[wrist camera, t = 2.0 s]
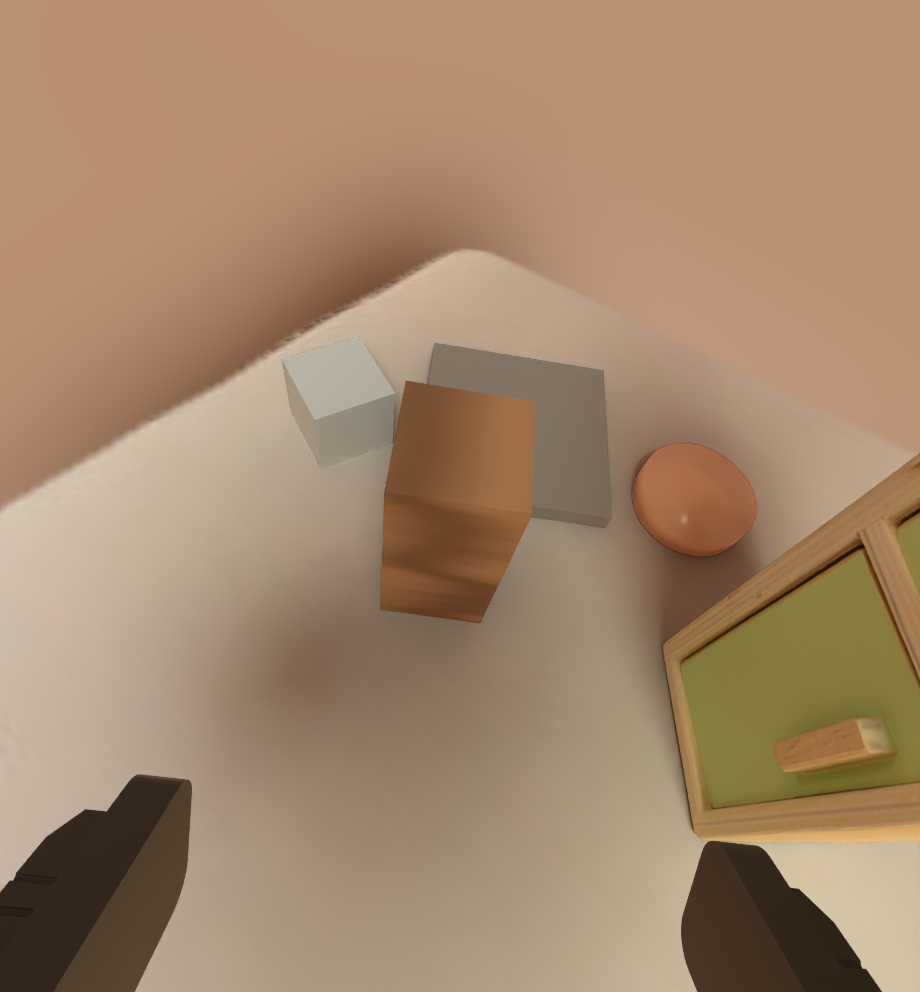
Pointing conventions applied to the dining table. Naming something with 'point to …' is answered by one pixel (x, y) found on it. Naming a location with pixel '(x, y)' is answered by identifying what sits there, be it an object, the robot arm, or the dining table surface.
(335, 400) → the grey cube
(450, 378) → the slate coaster
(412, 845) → the dining table surface
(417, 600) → the walnut block
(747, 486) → the orange disc
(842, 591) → the toy refrigerator
